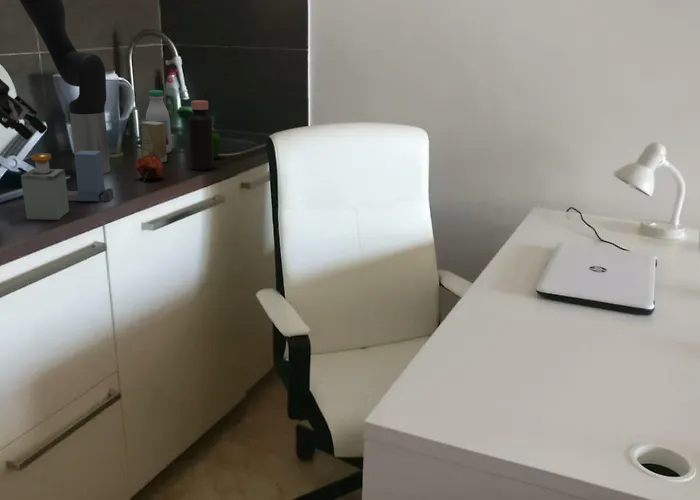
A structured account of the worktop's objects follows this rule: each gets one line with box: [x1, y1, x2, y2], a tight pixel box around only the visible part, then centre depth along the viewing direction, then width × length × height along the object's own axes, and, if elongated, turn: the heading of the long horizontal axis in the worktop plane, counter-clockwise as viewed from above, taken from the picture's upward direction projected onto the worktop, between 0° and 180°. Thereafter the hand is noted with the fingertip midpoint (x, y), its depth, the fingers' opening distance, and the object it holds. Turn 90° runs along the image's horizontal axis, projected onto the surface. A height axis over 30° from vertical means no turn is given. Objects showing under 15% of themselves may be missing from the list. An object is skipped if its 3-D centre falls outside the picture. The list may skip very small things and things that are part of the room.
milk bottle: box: [145, 89, 173, 154], centre depth 224 cm, size 8×8×20 cm
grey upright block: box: [20, 168, 70, 221], centre depth 155 cm, size 7×7×10 cm
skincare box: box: [140, 120, 168, 163], centre depth 211 cm, size 6×4×12 cm
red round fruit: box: [135, 154, 164, 183], centre depth 190 cm, size 7×7×10 cm
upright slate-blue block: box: [73, 151, 106, 202], centre depth 168 cm, size 6×5×12 cm
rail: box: [67, 188, 114, 202], centre depth 170 cm, size 4×20×2 cm, turn 92°
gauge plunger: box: [30, 152, 52, 175], centre depth 153 cm, size 4×4×7 cm
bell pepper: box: [212, 127, 222, 159], centre depth 218 cm, size 8×8×10 cm
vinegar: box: [188, 99, 215, 171], centre depth 203 cm, size 7×7×20 cm
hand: (37, 134), depth 164 cm, fingers open, 8 cm apart
